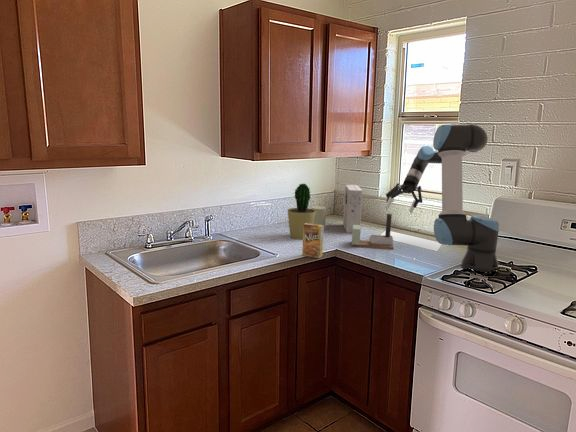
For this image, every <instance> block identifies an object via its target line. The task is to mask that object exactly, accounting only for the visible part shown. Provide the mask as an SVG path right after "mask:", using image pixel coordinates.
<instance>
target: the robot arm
mask: <svg viewBox="0 0 576 432" xmlns="http://www.w3.org/2000/svg"><path fill="white" fill-rule="evenodd" d="M488 138H489V137H488V133H487V131H486V130H485V129H484V128H483V127H481V126H479V125H476V124H467V123H466V124H462V123H442V124H440V125H439V126H437V128H436V130H435V133H434V136H433V139H432V140H433V141H432V142H433V143H432V144H433V145H432V146H430V145H428V144H425V145H423V146H421V147H420V149H418V151H417V154H416V156H415V157H414V159H413V162H412V164H411V165H410V168H409V169H408V171H407V174H406V176H405V178H404V180H403V183H402V184H400V183H396V185H395V186H394V187H393V188H391V189H390V190H389V191H388V192H386V194H385V196H386V198H387V199H386V201H385V202H386V203H385V205H384V207H385V209H386V210H389V209H390V206H391V204H392V202H393V199H395V198H396V197H398V196H399V195H402V194H408V195H409V194H411V195H412V197H413V199H414V200H413V201H412V203H411V205H410V207H409V213H410V214H412V213H413V211H414V209H416V208H417V206H418V204H422V203H423V198H422V197H423V196H422V190H423V189H422V186H421V185H419V183H420V180H421V178H422V177H423V174H424V172H425V171H426V169H427V166H428V164H441V212H439V213H438V217H437V218H435V219H434V221H433V233H434V237H435V240H436V241H437V242H438V243H439V244H440V245H443V246H444V245H445V246H466V247H467V249H466V252H465V254H464V255H463V257H462V260H461V265H462V266H461V265H460V266H461V268H463V267H464V268H470V269H473V270H476V271H480V272H490V271H492V270H494V269H497V268H498V269H499V262H498V259H497V254H496V253H497V244H498V238H499V237H498V236H499V232H500V223H499V222H498V220H496V219H493V218H490V217H487V216H482V215H475V214H474V215H471V216H470V218H469V219H468V218H467V213H466V212H465V211H464V210H463V209H464V207H463V206H464V205H463V204H464V203H463V202H464V201H463V200H464V198H463V158H464V157H466V156H468V154H471V153H477V152H479V151H482V150H483V149H484V148H485V147H486V145H487V143H488ZM418 185H419V186H418ZM415 191H417V194H418V197H417V195H416V194H415ZM464 268H463V269H464Z"/></svg>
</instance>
